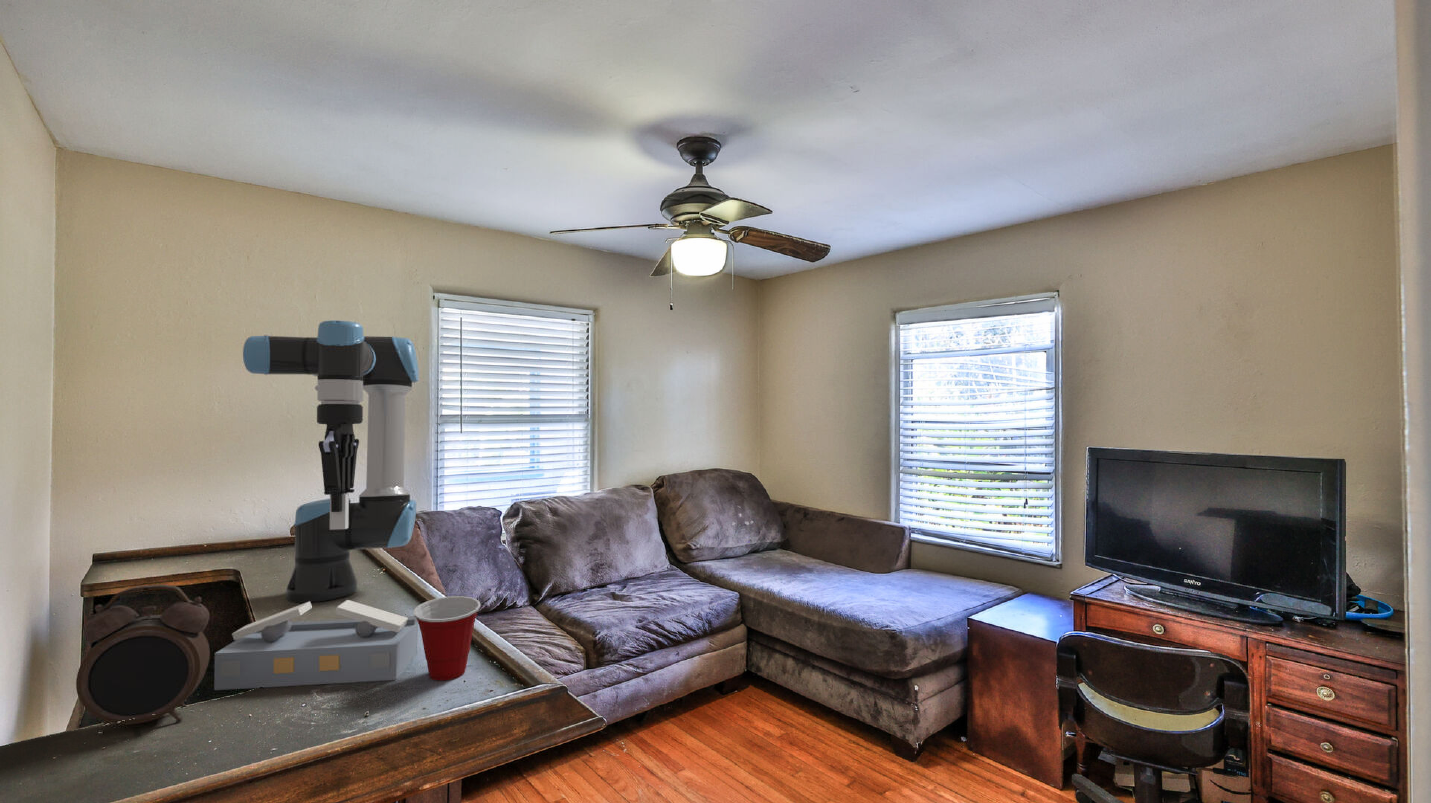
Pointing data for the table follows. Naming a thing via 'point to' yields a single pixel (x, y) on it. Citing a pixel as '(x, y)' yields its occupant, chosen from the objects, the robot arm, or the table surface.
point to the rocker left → (273, 624)
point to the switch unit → (316, 656)
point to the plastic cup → (447, 634)
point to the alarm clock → (143, 659)
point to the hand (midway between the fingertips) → (339, 528)
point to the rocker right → (370, 618)
